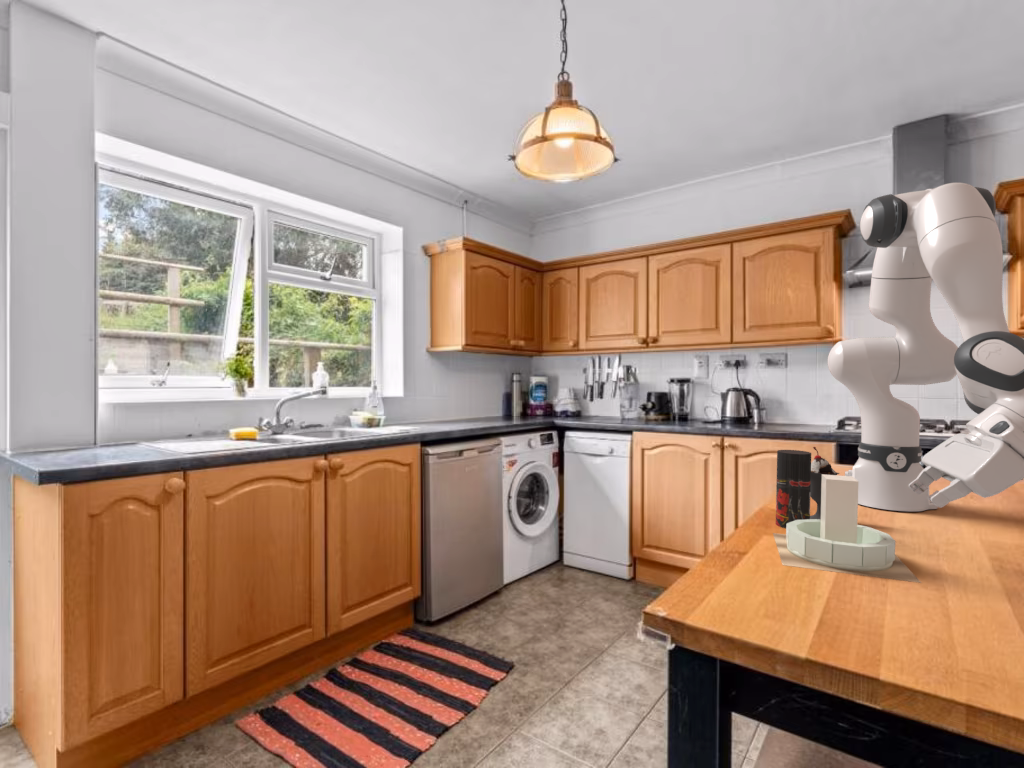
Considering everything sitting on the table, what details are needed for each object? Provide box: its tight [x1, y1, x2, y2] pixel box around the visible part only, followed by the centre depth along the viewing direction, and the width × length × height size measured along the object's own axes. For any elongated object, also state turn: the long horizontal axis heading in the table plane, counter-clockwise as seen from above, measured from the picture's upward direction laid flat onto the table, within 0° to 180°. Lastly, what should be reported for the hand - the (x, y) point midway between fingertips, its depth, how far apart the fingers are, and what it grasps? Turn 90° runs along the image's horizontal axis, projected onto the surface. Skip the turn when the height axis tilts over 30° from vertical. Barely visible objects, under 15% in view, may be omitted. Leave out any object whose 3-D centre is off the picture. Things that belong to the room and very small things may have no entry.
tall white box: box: [820, 474, 859, 544], centre depth 89 cm, size 4×4×12 cm
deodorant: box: [775, 449, 812, 530], centre depth 106 cm, size 6×6×15 cm
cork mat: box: [772, 532, 922, 584], centre depth 89 cm, size 18×18×1 cm
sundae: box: [810, 446, 840, 520], centre depth 112 cm, size 7×7×15 cm
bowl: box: [785, 519, 896, 571], centre depth 89 cm, size 15×15×4 cm
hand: (922, 496), depth 85 cm, fingers open, 8 cm apart
